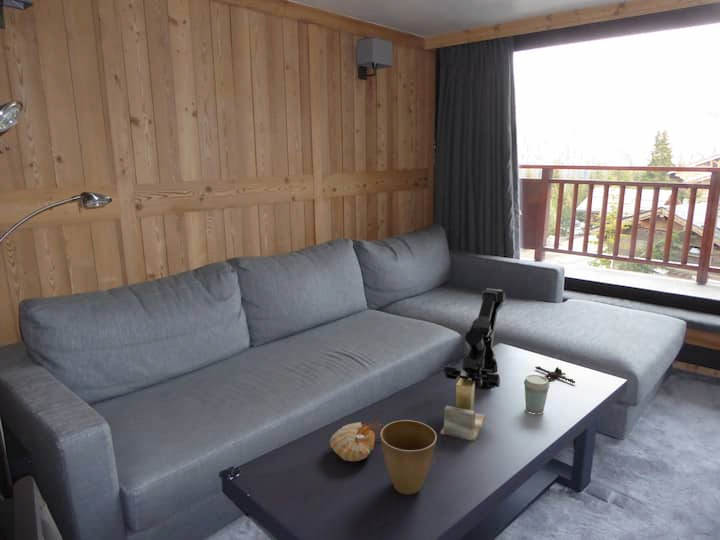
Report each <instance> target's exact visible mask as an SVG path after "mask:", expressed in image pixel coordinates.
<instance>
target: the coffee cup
mask: <svg viewBox="0 0 720 540" xmlns="http://www.w3.org/2000/svg"><path fill="white" fill-rule="evenodd" d="M523 384H524V396H525V397H524V399H525V410H527V411H528V412H531V413H535V414H538V413H542V412H543V413H544V410H545V406H546V401H547V397H548V391H549V389H550V381H549V382H548V378H545V377H544V376H542V375H540V374H530V375H527V376H526V377H525V379H524V380H523ZM527 411H526V412H527ZM528 412H527V413H528ZM543 413H542V414H543Z"/></svg>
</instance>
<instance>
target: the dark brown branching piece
mask: <svg viewBox="0 0 720 540" xmlns="http://www.w3.org/2000/svg"><path fill="white" fill-rule="evenodd" d="M535 369H536V370H539V371H542V372H544V373H546V374H547V375H545V376H543V377H545V378H547V379H548V381H549V380H550V381H552V380H554V379H553V378H555V377H557V378H558V377H559V379H560V378H562V379H561V380H564V379H565V381H567V380H568V381H567V382H569V381H570V382H569V383H571V382H572V383H571V384H575V383H576V381H575V380H574V378H568V377H565V375H566V374H567V373H566V372H562V369H560V368H559V366H557V367H555V369H554V371H549V370H548V369H544V368H542V367H541V365H539V366H535ZM548 377H550V378H548ZM551 379H552V380H551ZM555 379H556V378H555ZM550 381H549V382H550Z"/></svg>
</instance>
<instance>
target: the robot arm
mask: <svg viewBox="0 0 720 540" xmlns="http://www.w3.org/2000/svg"><path fill="white" fill-rule="evenodd" d="M480 300H482V302H481V306H480V310H479V313H478V317H477V318H476V319H474V320H473V322H472V325H471V326H470V327H469V328H468V330H467V332H466V333H465V335H464V339H465V344H466V346H467V348H468V351H467V354H466V357H463V359H462V366H461V368H462V370H458V368H457V366H453V365H445V366H444V368H443V371H442V372H443V374H444V376H445V378H446V379H451V380H456V379H457V378H459V379H460V378H461V379H467V380H472V381H475V391H477V389H478V388H479V389H480V388H481V390H484V388H485V389H488V388H489V387H490V388H494V387H495V388H499V387H500V385H501V378H500V375H499V374H498V361H497V360H496V359H497V358H496V354H495V352H494V350H493V343H494V336H495V329H496V324H497V316H498V312H499V311H500V310H501V309H502V308H503V304H504V302H505V301H506V293H505V292H504V291H503V289H500V288H499V289H497V288H486V289H485V290H482V291H481V299H480Z"/></svg>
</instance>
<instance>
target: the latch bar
mask: <svg viewBox="0 0 720 540" xmlns="http://www.w3.org/2000/svg"><path fill="white" fill-rule="evenodd" d="M455 391H456V392H455V407H456V408H461V409H466V410H471V411H474V412H475V409H474V407H475V391H476V390H475V381H472V380H471V379H468V380H467V379H461V378H459V380H458V382H457V383H456V385H455Z"/></svg>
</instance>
